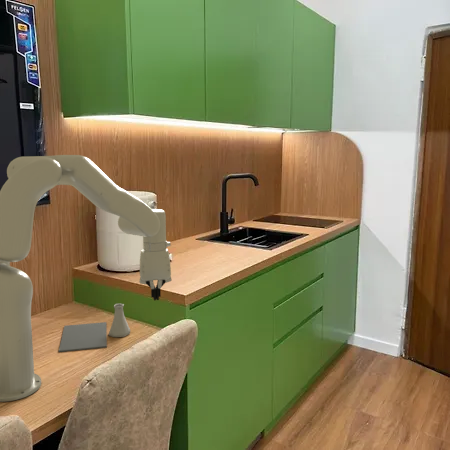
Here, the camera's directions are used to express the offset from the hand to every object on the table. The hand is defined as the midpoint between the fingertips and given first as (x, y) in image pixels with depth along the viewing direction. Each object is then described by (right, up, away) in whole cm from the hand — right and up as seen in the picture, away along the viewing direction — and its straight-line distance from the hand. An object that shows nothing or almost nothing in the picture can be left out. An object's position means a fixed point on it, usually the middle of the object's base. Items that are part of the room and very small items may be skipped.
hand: (156, 298), depth 145 cm
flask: (-12, -12, -2) cm, 17 cm away
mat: (-23, -12, -5) cm, 26 cm away
